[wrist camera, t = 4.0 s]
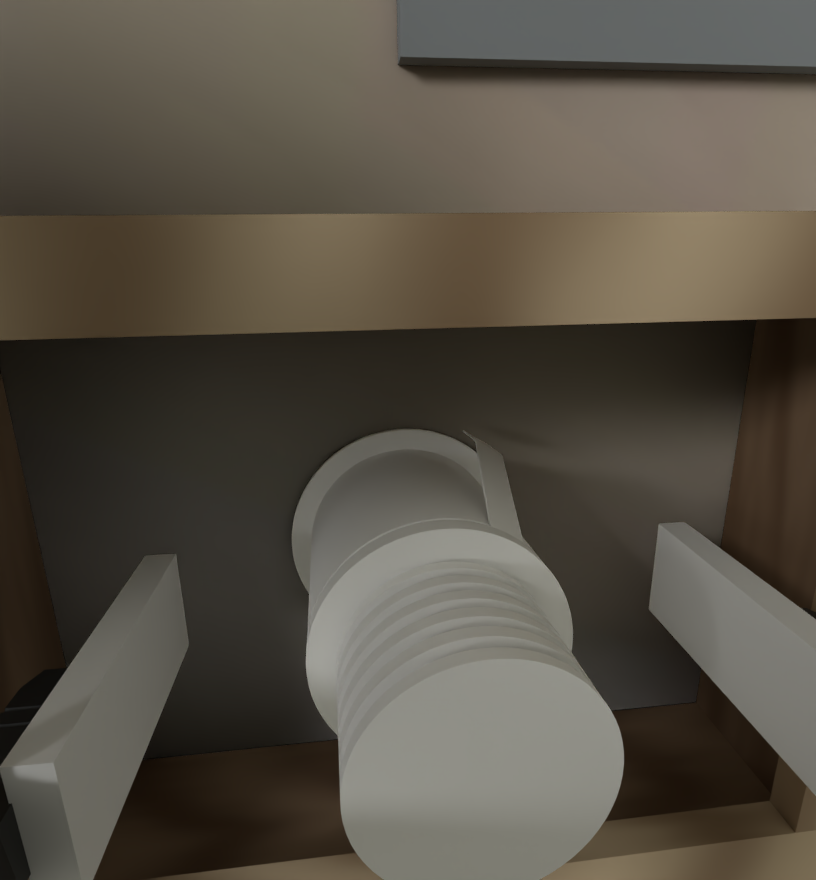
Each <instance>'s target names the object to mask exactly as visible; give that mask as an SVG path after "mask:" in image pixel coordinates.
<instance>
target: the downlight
mask: <svg viewBox="0 0 816 880" xmlns="http://www.w3.org/2000/svg"><path fill="white" fill-rule="evenodd" d="M463 432H464V433H465V434H466V435H467V436H469V437H470V438H471V439H472V440H474V441H475V444H476V450H477V453H476V452H475V451H474V450H473V449H471V448H470V447H468V446H467V445H465V444H464V443H462V442H460V441H458V440H456V439H454V438H452V437H450V436H447V435H444V434H441V433H438V432H434V431H429V430H423V429H411V428H406V429H393V430H386V431H382V432H377V433H374V434H371V435H368V436H365V437H362V438H360V439H358V440H356V441H354V442H352V443H350V444H348V445H347V446H345V447H343V448H342V449H340V450H339V451H337V452H336V453H335V454H333V455H332V456H331V457H330V458H329V459H328V460H326V461H325V462H324V463H323V465H322V466H321V467H320V468H319V469H318V470H317V471H316V472H315V474H314V475H313V476H312V478H311V479H310V481H309V482H308V484H307V485H306V487H305V489H304V491H303V493H302V495H301V497H300V499H299V502H298V505H297V508H296V511H295V515H294V520H293V527H292V552H293V557H294V562H295V566H296V569H297V572H298V574H299V577H300V579H301V581H302V583H303V585H304V587H305V588H306V590H307V591H308V593H309V607H308V628H307V647H306V675H307V680H308V686H309V689H310V692H311V696H312V698H313V701H314V703H315V705H316V707H317V709H318V711H319V713H320V714H321V716H322V718H323V719H324V720H325V722H326V723H327V724H328V726H329V727H330V728H331V729H332V730H333V731H334V732H335V733H336V735H338V749H339V778H340V808H341V816H342V822H343V825H344V829H345V832H346V835H347V837H348V839H349V841H350V844H351V845H352V847H353V849H354V850H355V852H356V853H357V855H358V856H359V857H360V859H361V860H362V861H363V862H364V863H365V864H366V865H367V866H368V867H369V868H370V869H371V870H372V871H373V872H374V873H375V874H377V875H378V876H379V877H381V878H382V879H384V880H540V879H542V878H543V877H545V876H547V875H549V874H550V873H552V872H553V871H555V870H556V869H558V868H559V867H561V866H562V865H564V864H565V863H566V862H568V861H569V860H570V859H571V858H573V857H574V856H575V855H576V854H577V853H578V852H579V851H580V850H582V849H583V848H584V846H585V845H586V844H587V843H588V842H589V841H590V840H591V839H592V838H593V836H594V835H595V834H596V833H597V831H598V830H599V829H600V827H601V826H602V824H603V823H604V821H605V820H606V818H607V816H608V815H609V813H610V811H611V809H612V807H613V805H614V802H615V800H616V798H617V795H618V792H619V789H620V785H621V781H622V776H623V768H624V749H623V741H622V737H621V733H620V729H619V726H618V724H617V721H616V719H615V717H614V715H613V713H612V711H611V710H610V708H609V707H608V705H607V704H606V702H605V701H604V699H603V698H602V696H601V695H600V694H599V692H598V691H597V689H596V688H595V686H594V685H593V683H592V682H591V680H590V679H589V677H588V676H587V674H586V673H585V672H584V670H583V669H582V667H581V666H580V664H579V663H578V661H577V660H576V658H575V657H574V656H573V654H572V653H571V652H572V644H573V625H572V618H571V612H570V609H569V605H568V602H567V599H566V597H565V594H564V592H563V590H562V588H561V586H560V584H559V582H558V581H557V579H556V578H555V576H554V575H553V574H552V572H551V571H550V570H549V569H548V568H547V566H546V565H545V564H544V563H543V562H542V560H541V559H540V558H539V557H538V555H537V554H536V553H535V552H534V550H533V549H532V548H531V547H530V545H529V544H528V543H527V542H526V541H525V539H524V538H523V537H522V534H521V530H520V526H519V521H518V517H517V513H516V509H515V505H514V501H513V497H512V493H511V489H510V484H509V480H508V476H507V472H506V468H505V464H504V460H503V456H502V454H500V453H499V452H498V451H496V450H495V449H494V448H492V447H491V446H490V445H489V444H487V443H485V442H483V441H482V440H480V439H478V438H476V437H474V436H473V435H471V434H469V433H467V432H466V431H464V430H463Z"/></svg>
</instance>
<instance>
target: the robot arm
mask: <svg viewBox="0 0 816 880" xmlns="http://www.w3.org/2000/svg"><path fill="white" fill-rule="evenodd" d="M649 610H650V611H651V612H652V614H653V615H654V616H655V617H656V618H657V619H658V620H659V621H660V623H661V624H662V625H663V626H664V627H665V628H666V629H667V630H668V631H669V633H670V634H671V635H672V636H673V637H674V638H675V639H676V640H677V642H678V643H679V644H680V645H681V646H682V647H683V648H684V649H685V650H686V652H687V653H688V654H689V655H690V656H691V657H692V658H693V659H694V661H695V662H696V663H697V664H698V665H699V666H700V667H701V668H702V669H703V671H704V672H705V673H706V674H707V675H708V676H709V677H710V678H711V679H712V681H713V682H714V683H715V684H716V685H717V686H718V687H719V688H720V690H721V691H722V692H723V693H724V694H725V695H726V696H727V697H728V698H729V700H730V701H731V702H732V703H733V704H734V705H735V706H736V707H737V709H738V710H739V711H740V712H741V713H742V714H743V715H744V716H745V717H746V719H747V720H748V721H749V722H750V723H751V724H752V725H753V726H754V727H755V729H756V730H757V731H758V732H759V733H760V734H761V735H762V736H763V738H764V739H765V740H766V741H767V742H768V743H769V744H770V745H771V746H772V748H773V749H774V750H775V751H776V752H777V753H778V754H779V755H780V757H781V758H782V759H783V760H784V761H785V762H786V763H787V764H788V765H789V767H790V768H791V769H792V770H793V771H794V772H795V773H796V774H797V776H798V777H799V778H800V779H801V780H802V781H803V782H804V783H805V784H806V786H807V787H808V788H809V789H810V790H811V791H812V792H813V793H814V794H815V796H816V612H814V611H812V610H810V609H808V608H800V607H799V606H797V605H796V604H795V603H793V602H792V601H790V600H789V599H788V598H786V597H785V596H784V595H782V594H781V593H780V592H778V591H777V590H776V589H774V588H773V587H772V586H770V585H769V584H768V583H766V582H765V581H764V580H762V579H761V578H760V577H758V576H757V575H755V574H754V573H753V572H751V571H750V570H749V569H747V568H746V567H745V566H743V565H742V564H741V563H739V562H738V561H737V560H735V559H734V558H733V557H731V556H730V555H729V554H727V553H726V552H725V551H723V550H722V549H720V548H719V547H718V546H716V545H715V544H714V543H712V542H711V541H710V540H708V539H707V538H706V537H704V536H703V535H702V534H700V533H699V532H698V531H696V530H695V529H694V528H692V527H691V526H690V525H688V524H687V523H685V522H675V523H659V527H658V535H657V543H656V552H655V560H654V569H653V577H652V585H651V594H650V602H649ZM188 647H189V640H188V633H187V626H186V619H185V612H184V605H183V598H182V591H181V584H180V577H179V571H178V564H177V557H176V554H161V555H145V557H144V558H143V560H142V561H141V562H140V564H139V565H138V567H137V568H136V570H135V571H134V573H133V574H132V576H131V577H130V578H129V580H128V581H127V583H126V584H125V586H124V587H123V589H122V590H121V591H120V593H119V594H118V596H117V597H116V599H115V600H114V602H113V603H112V605H111V606H110V607H109V609H108V610H107V612H106V613H105V615H104V616H103V618H102V619H101V620H100V622H99V623H98V625H97V626H96V628H95V629H94V631H93V632H92V634H91V635H90V636H89V638H88V639H87V641H86V642H85V644H84V645H83V647H82V648H81V650H80V651H79V652H78V654H77V655H76V657H75V658H74V660H73V661H72V663H71V664H70V665H69V667H68V668H59V669H46V670H43V671H42V672H41V673H39V674H38V675H37V676H36V677H34V678H33V679H32V680H30V681H29V682H28V683H26V684H25V685H24V686H22V687H21V688H20V689H19V690H18V692H17V693H16V694H15V696H14V697H13V698H12V700H11V701H10V702H9V703H8V705H7V706H6V707H5V711H4V712H2V713H1V714H0V880H28V878H29V879H30V880H93V879H94V876H95V874H96V872H97V869H98V867H99V864H100V862H101V859H102V857H103V854H104V852H105V850H106V847H107V845H108V842H109V840H110V837H111V835H112V832H113V830H114V828H115V825H116V823H117V820H118V818H119V815H120V813H121V810H122V808H123V806H124V803H125V801H126V798H127V796H128V793H129V791H130V788H131V786H132V784H133V781H134V779H135V776H136V774H137V771H138V769H139V766H140V764H141V762H142V759H143V757H144V754H145V752H146V749H147V747H148V744H149V742H150V740H151V737H152V735H153V732H154V730H155V727H156V725H157V722H158V720H159V718H160V715H161V713H162V710H163V708H164V705H165V703H166V700H167V698H168V696H169V693H170V691H171V688H172V686H173V683H174V681H175V678H176V676H177V674H178V671H179V669H180V666H181V664H182V661H183V659H184V656H185V654H186V651H187V649H188Z"/></svg>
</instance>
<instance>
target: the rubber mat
mask: <svg viewBox="0 0 816 880" xmlns="http://www.w3.org/2000/svg"><path fill="white" fill-rule="evenodd" d="M397 37H398V65H427V66H472V67H517V68H562V69H607V70H652V71H697V72H742V73H787V74H816V0H397Z"/></svg>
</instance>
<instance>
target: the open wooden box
mask: <svg viewBox="0 0 816 880" xmlns="http://www.w3.org/2000/svg"><path fill="white" fill-rule="evenodd" d="M756 319H757V321H756V327H755V334H754V340H753V346H752V353H751V359H750V365H749V372H748V378H747V384H746V390H745V397H744V403H743V409H742V416H741V422H740V428H739V435H738V441H737V447H736V453H735V460H734V466H733V472H732V479H731V485H730V491H729V498H728V504H727V510H726V516H725V523H724V529H723V535H722V542H721V548H720V549H722V550H723V551H725V552H726V553H727V554H729V555H730V556H731V557H733V558H734V559H735V560H737V561H738V562H739V563H741V564H742V565H743V566H745V567H746V568H747V569H749V570H750V571H751V572H753V573H754V574H755V575H757V576H758V577H760V578H761V579H762V580H764V581H765V582H766V583H768V584H769V585H770V586H772V587H773V588H774V589H776V590H777V591H778V592H780V593H781V594H782V595H784V596H785V597H786V598H788V599H789V600H790V601H792V602H793V603H795V604H796V605H797V606H799V607H800V608H808V609H810V610H812V611H814V612H816V211H742V212H569V213H395V214H222V215H49V216H0V340H31V339H68V338H104V337H140V336H176V335H212V334H249V333H285V332H321V331H357V330H394V329H430V328H466V327H502V326H538V325H575V324H611V323H647V322H683V321H719V320H756ZM59 668H66V664H65V659H64V655H63V650H62V646H61V641H60V637H59V632H58V628H57V623H56V619H55V614H54V610H53V605H52V601H51V596H50V592H49V587H48V583H47V578H46V574H45V569H44V565H43V560H42V556H41V551H40V547H39V542H38V538H37V533H36V529H35V524H34V520H33V515H32V511H31V506H30V502H29V497H28V493H27V488H26V484H25V479H24V475H23V470H22V466H21V461H20V457H19V452H18V448H17V443H16V439H15V434H14V430H13V425H12V421H11V416H10V412H9V407H8V403H7V398H6V394H5V389H4V385H3V380H2V376H1V371H0V714H1V713H2V712H4V711H5V707H6V706H7V705H8V703H9V702H10V701H11V700H12V698H13V697H14V696H15V694H16V693H17V692H18V690H19V689H20V688H21V687H22V686H24V685H25V684H26V683H28V682H29V681H30V680H32V679H33V678H34V677H36V676H37V675H38V674H39V673H41V672H42V671H43V670H46V669H59ZM612 713H613V715H614V717H615V719H616V721H617V724H618V726H619V729H620V733H621V737H622V741H623V749H624V768H623V776H622V781H621V785H620V789H619V792H618V795H617V798H616V800H615V802H614V805H613V807H612V809H611V811H610V813H609V815H608V816H607V818H606V820H605V821H604V823H603V824H602V826H601V827H600V829H599V830H598V831H597V833H596V834H595V835H594V836H593V838H592V839H591V840H590V841H589V842H588V843H587V844H586V845H585V846H584V848H583V849H582V850H580V851H579V852H578V853H577V854H576V855H575V856H574V857H573V858H571V859H570V860H569V861H568V862H566V863H565V864H564V865H562V866H561V867H559V868H558V869H556V870H555V871H553V872H552V873H550V874H549V875H547V876H545V877H543V878H542V879H540V880H816V796H815V794H814V793H813V792H812V791H811V790H810V789H809V788H808V787H807V786H806V784H805V783H804V782H803V781H802V780H801V779H800V778H799V777H798V776H797V774H796V773H795V772H794V771H793V770H792V769H791V768H790V767H789V765H788V764H787V763H786V762H785V761H784V760H783V759H782V758H781V757H780V755H779V754H778V753H777V752H776V751H775V750H774V749H773V748H772V746H771V745H770V744H769V743H768V742H767V741H766V740H765V739H764V738H763V736H762V735H761V734H760V733H759V732H758V731H757V730H756V729H755V727H754V726H753V725H752V724H751V723H750V722H749V721H748V720H747V719H746V717H745V716H744V715H743V714H742V713H741V712H740V711H739V710H738V709H737V707H736V706H735V705H734V704H733V703H732V702H731V701H730V700H729V698H728V697H727V696H726V695H725V694H724V693H723V692H722V691H721V690H720V688H719V687H718V686H717V685H716V684H715V683H714V682H713V681H712V679H711V678H710V677H709V676H708V675H707V674H706V673H705V672H704V671H703V669H702V668H701V674H700V680H699V687H698V693H697V699H696V703H687V704H678V705H668V706H658V707H649V708H639V709H629V710H620V711H612ZM28 880H30V879H29V878H28ZM93 880H384V879H382V878H381V877H379V876H378V875H377V874H375V873H374V872H373V871H372V870H371V869H370V868H369V867H368V866H367V865H366V864H365V863H364V862H363V861H362V860H361V859H360V857H359V856H358V855H357V853H356V852H355V850H354V849H353V847H352V845H351V844H350V841H349V839H348V837H347V835H346V832H345V829H344V825H343V822H342V816H341V808H340V778H339V749H338V740H331V741H321V742H311V743H302V744H292V745H282V746H273V747H263V748H253V749H244V750H234V751H225V752H215V753H205V754H196V755H186V756H176V757H167V758H157V759H147V760H142V762H141V764H140V766H139V769H138V771H137V774H136V776H135V779H134V781H133V784H132V786H131V788H130V791H129V793H128V796H127V798H126V801H125V803H124V806H123V808H122V810H121V813H120V815H119V818H118V820H117V823H116V825H115V828H114V830H113V832H112V835H111V837H110V840H109V842H108V845H107V847H106V850H105V852H104V854H103V857H102V859H101V862H100V864H99V867H98V869H97V872H96V874H95V876H94V879H93Z"/></svg>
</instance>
